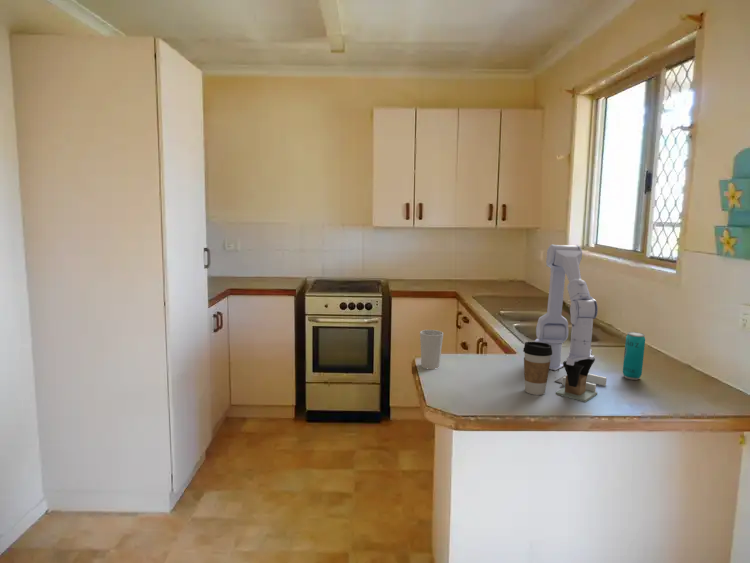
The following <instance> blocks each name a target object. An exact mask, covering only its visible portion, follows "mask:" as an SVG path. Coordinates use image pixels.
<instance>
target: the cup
mask: <svg viewBox="0 0 750 563" xmlns="http://www.w3.org/2000/svg"><path fill="white" fill-rule="evenodd" d="M419 337H420V338H419V339H420V358H421V359H420V363H421V368H422V367H423V368H422V369H425V368H428V369H427V370H436V369H435V368H438V367H439V366H440V363H441V356H442V347H443V339H444V332H443V331H441V330H436V329H423V330H420V332H419ZM440 367H441V366H440ZM440 367H439V368H440ZM439 368H438V369H439Z"/></svg>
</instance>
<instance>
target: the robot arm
mask: <svg viewBox="0 0 750 563" xmlns="http://www.w3.org/2000/svg"><path fill="white" fill-rule="evenodd" d="M582 258H583V249H582V247H581V245H579V244H576V245H571V244H550V245H549V246H548V248H547V251H546V260H545V265H546V267H549V268H550V276H549V285H548V286H549V287H548V298H547V307H546V308H547V310H546V313H544V314H543V315H541V316H540V317H538V320H537V324H536V328H535V335H536V339H535V340H534V341H533V342H541V343H546V344H549V345H551V347H552V355H551V356H550V367H549V370H552V371H557V370H559V369H561V368H563V367H564V369H565V371H566V372H565V373H566V376H567V377H568V383H569V386H573V387H577V384H578V380H579V376H580V374H581V375H585V376H588V373H589V372H590V371H591V368H592V365H593V364H594V363H595V361H596V358H595V355H593V349H592V348H591V347H592V337H593V326H594V325H593V324H594V320H595V319H597V316H598V309H599V307H598V303H597V300H596V299H594V297H593V296H591V294H590V293H591V292H590V291H589V286H588V284H587V281H586V280H584V279H582V276H581V270H580V264H581V261H582ZM566 277H567V280H568V284H567V287H566V289H567V293H568V297H569V300H570V305H569V306H570V307H569V312H570V314H569V315H570V323H571V333H570V345H569V352H568V357H566V360H565V361H563V362H562V363H561V360H562V350H563V349H562V348H563V344H565V343H564V342H566V341H567V339H568V338H569V322H568V319H567V318H566V317H564V316H563V315H562V313H563V304H564V292H565V280H566ZM589 374H590V373H589ZM586 379H587V378H586Z"/></svg>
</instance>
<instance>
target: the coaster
mask: <svg viewBox="0 0 750 563" xmlns="http://www.w3.org/2000/svg"><path fill="white" fill-rule="evenodd" d="M555 395H557V396H562V397H565V398H569V399H573V400H577V401H580V402H585V403H587V402H588V401H589V400H591V399H592V398H594V397H596V396H597V395H598V392H597V391H596V392H594V391H590V390H586V389H585V392H584V393H583V394H581V395H580V396H579V395H575V394H571V393H568V392H565V386H564V387H562V388H560V389H559V390H556V391H555Z"/></svg>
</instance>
